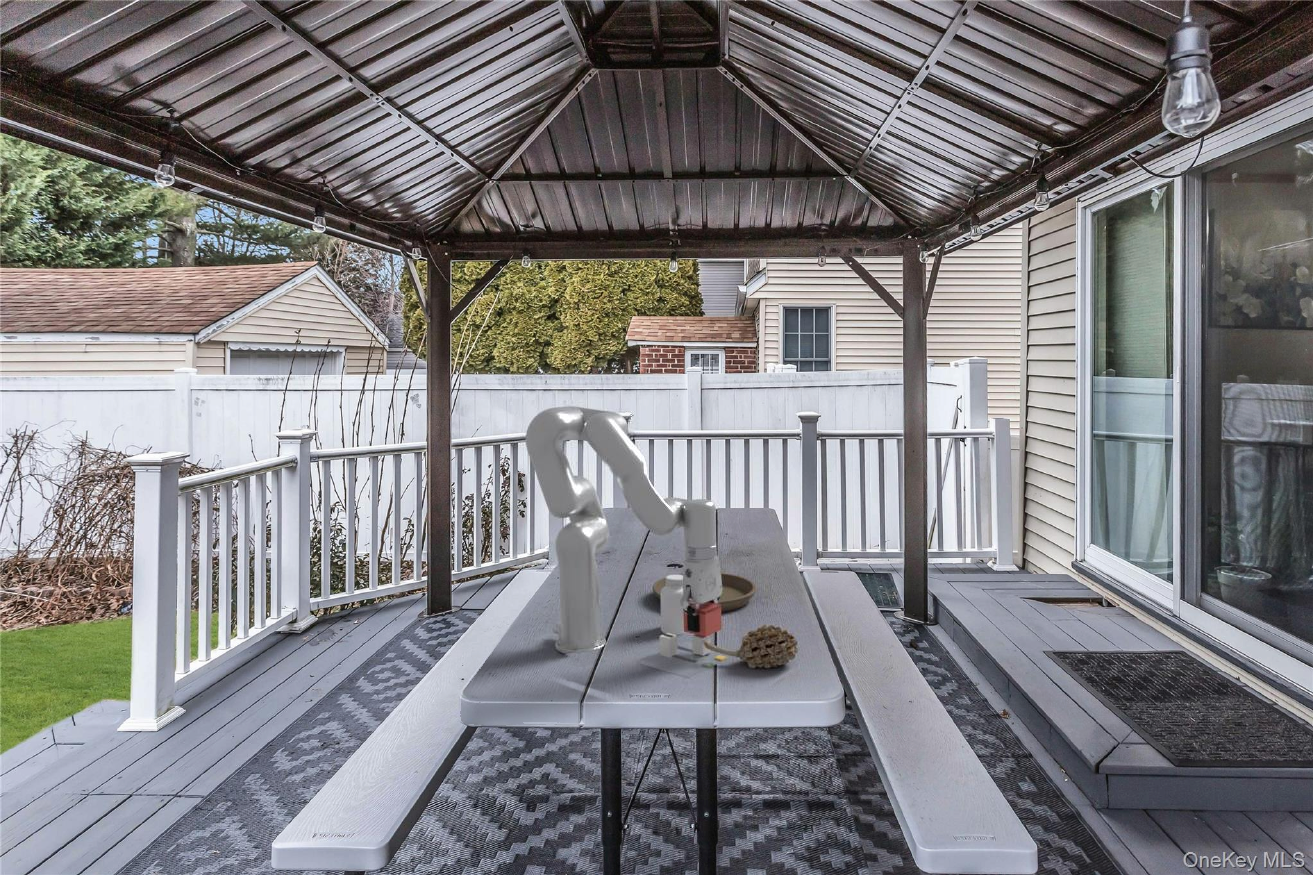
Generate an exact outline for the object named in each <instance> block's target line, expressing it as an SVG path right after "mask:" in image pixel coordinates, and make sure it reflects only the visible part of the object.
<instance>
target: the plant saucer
mask: <svg viewBox="0 0 1313 875" xmlns="http://www.w3.org/2000/svg"><path fill="white" fill-rule="evenodd" d="M676 575H683V573H677V574H676ZM666 577H667V576H665V577H663V578H661V579H658V580H657V581H656V582H654V584H652V592H653V593H654V595H655V597H657V598H658V600H660V601H661V590H662V588H663V587H665V586H666ZM721 580H722V587H723V589H722V594H721V595H720V598H719V600H718V604H721V613H722V612H723V613H724V612H729V611H733V610H736V609H740V608H742V607H744V606H746V605H747V604H748V603H749V601H750V600H751V599H752V598H753V597H754V596H755V594H756V592H757V585H756V583H755V582H753V581H752V580H750V579H748V578H747V577H743V576H740V575H738V574H737V575H736V574H733V573H725V572H724V573H723V572H721ZM692 601H694V600H692Z"/></svg>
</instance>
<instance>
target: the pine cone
mask: <svg viewBox="0 0 1313 875" xmlns="http://www.w3.org/2000/svg"><path fill="white" fill-rule="evenodd" d="M702 642H704V645H705V647H706V648H707V649H710V650H711V651H714V652H718V653H722V654H725V655H729V656H731V657H736V658H739V659H740V660H741V661H744V662H746V663H747V666H748V668H750V669H755V668H762V667H763V668H765V669H771V668H777V667H778V666H782V664H784V665H786V664H788V663H789V662H790V661H792V660H794V659H795V658H796V655H797V653H798V650H799V648H798V647H797V646H798V640H797V639H796V636H795V635H793V633H788V630H787V629H784V630H782V628H781V627H780V626H775V625H772V624H770V625H766V624H764V625H762V626H761V627H757V629H756V630H751V631H747V635H745V636H743V637H742V638H741V644H740V647H739V649H738V650H732V649H727V648H723V647H720V646H717V645H715V644H713V643H711V642H710V643H709V642H706V641H705V640H704V641H702ZM789 660H790V661H789Z"/></svg>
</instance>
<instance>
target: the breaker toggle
mask: <svg viewBox="0 0 1313 875" xmlns="http://www.w3.org/2000/svg"><path fill="white" fill-rule="evenodd" d="M704 640H705V641H706V642H709V643H711V635H709V636H707V637H705V636H700V635H696V634H693V635H692V643H693V653H695V654H699V655H702V656H703V655H706V654H708V653H710V649H707V648H706V647H705V645H704V642H702V641H704Z"/></svg>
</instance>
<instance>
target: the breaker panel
mask: <svg viewBox="0 0 1313 875" xmlns="http://www.w3.org/2000/svg"><path fill="white" fill-rule="evenodd" d="M731 657H732V656H729V655H725V654H722V653H718V652H714V651H711V650H710V653H708V654H706V655H703V656H702V655H699V654H695V653H693V642H690V641H686V640H684V641H682V642H680V643H678V635H674V634H670V633H666V634H665V633H663V634H661V635H659V652H657V653H655V654H653V655H651V656H649V657H647V658H645V659H642V660H640V661H638V662H637V664H640V665H643V666H647V667H650V668H653V669H656V670H661V671H663V672H666V673H670V674H673V675H677V676H679V677H683V678H687V679H691V678H692V677H694V676H696V675H699V674H701V673H702V672H704V671H705V670H707V669H710V668H712V667H714V666H716V665H717V664H719V663H721V662H723V661H726V660H727V659H729V658H731Z"/></svg>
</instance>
